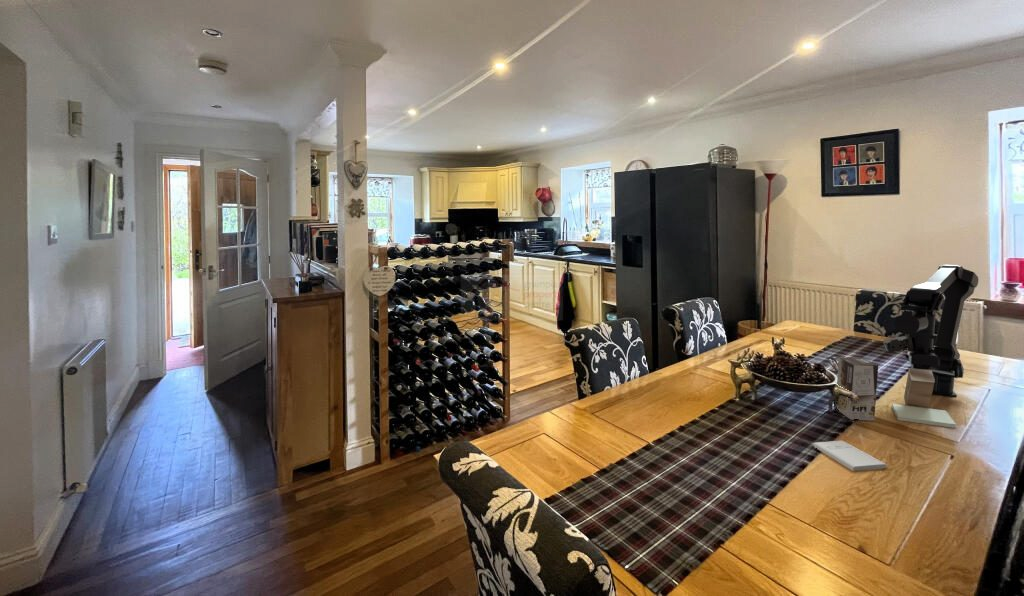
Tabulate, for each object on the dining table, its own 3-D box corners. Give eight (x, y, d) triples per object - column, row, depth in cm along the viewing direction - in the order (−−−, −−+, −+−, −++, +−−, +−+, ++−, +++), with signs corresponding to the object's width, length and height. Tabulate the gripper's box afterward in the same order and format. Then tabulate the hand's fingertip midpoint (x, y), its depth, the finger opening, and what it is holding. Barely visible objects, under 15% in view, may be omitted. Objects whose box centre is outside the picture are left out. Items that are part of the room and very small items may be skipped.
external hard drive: (852, 473, 105) (812, 448, 117) (886, 470, 106) (843, 445, 118) (853, 466, 105) (813, 442, 117) (886, 463, 106) (843, 439, 118)
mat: (891, 406, 140) (892, 403, 140) (945, 413, 134) (945, 410, 134) (898, 419, 131) (898, 416, 131) (955, 428, 125) (956, 424, 124)
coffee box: (875, 421, 131) (879, 365, 128) (849, 420, 132) (853, 364, 130) (858, 409, 140) (862, 356, 137) (834, 408, 141) (837, 356, 139)
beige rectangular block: (903, 397, 143) (909, 367, 138) (925, 399, 140) (931, 370, 136) (906, 407, 139) (911, 378, 135) (928, 410, 137) (934, 380, 132)
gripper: (882, 322, 150) (878, 369, 152) (891, 333, 134) (886, 385, 136) (928, 325, 144) (923, 373, 146) (942, 337, 128) (937, 391, 130)
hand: (916, 380), depth 140 cm, fingers closed
